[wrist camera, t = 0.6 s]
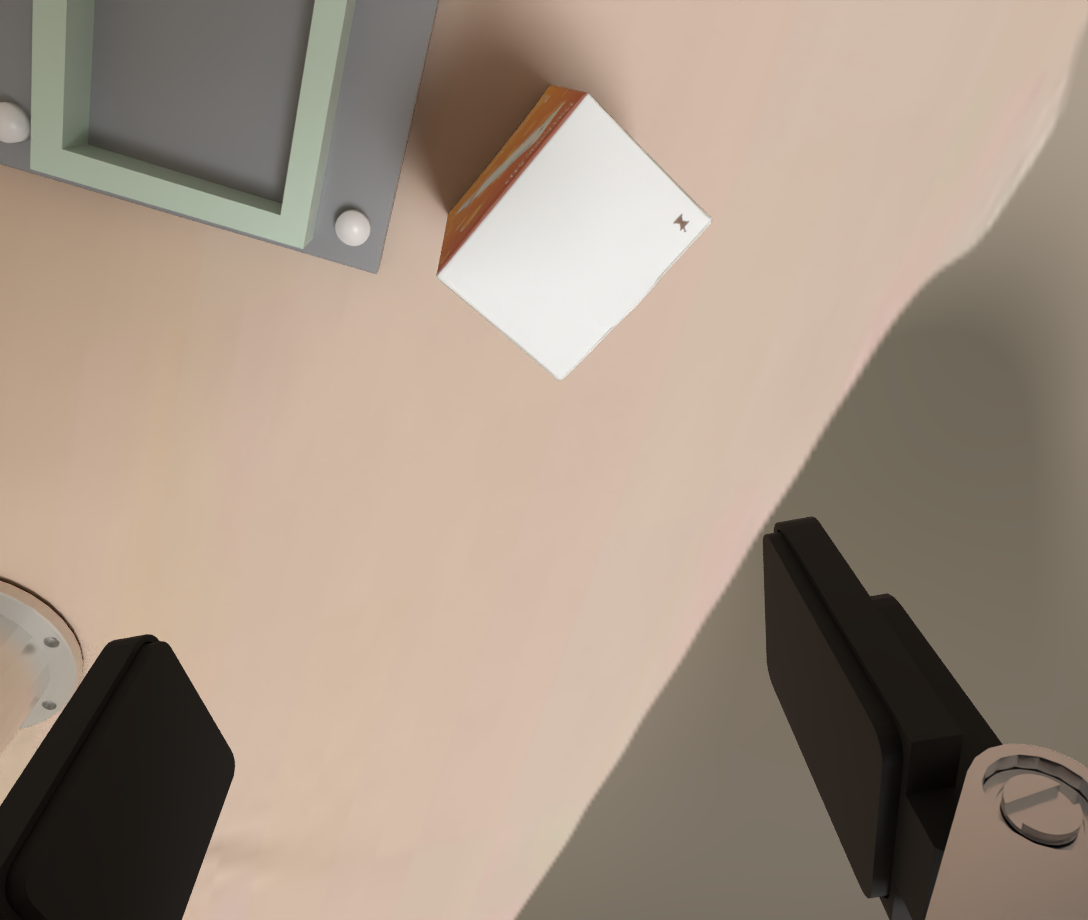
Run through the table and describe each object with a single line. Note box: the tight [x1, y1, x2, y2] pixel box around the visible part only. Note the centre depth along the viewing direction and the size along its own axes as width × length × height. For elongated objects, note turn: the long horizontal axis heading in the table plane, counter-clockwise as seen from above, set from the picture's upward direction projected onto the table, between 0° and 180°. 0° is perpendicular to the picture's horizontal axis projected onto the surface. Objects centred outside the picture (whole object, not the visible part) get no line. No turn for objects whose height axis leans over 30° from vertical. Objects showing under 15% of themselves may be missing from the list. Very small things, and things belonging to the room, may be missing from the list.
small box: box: [436, 85, 712, 380], centre depth 31 cm, size 8×6×13 cm
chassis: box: [0, 0, 439, 274], centre depth 31 cm, size 15×18×4 cm
